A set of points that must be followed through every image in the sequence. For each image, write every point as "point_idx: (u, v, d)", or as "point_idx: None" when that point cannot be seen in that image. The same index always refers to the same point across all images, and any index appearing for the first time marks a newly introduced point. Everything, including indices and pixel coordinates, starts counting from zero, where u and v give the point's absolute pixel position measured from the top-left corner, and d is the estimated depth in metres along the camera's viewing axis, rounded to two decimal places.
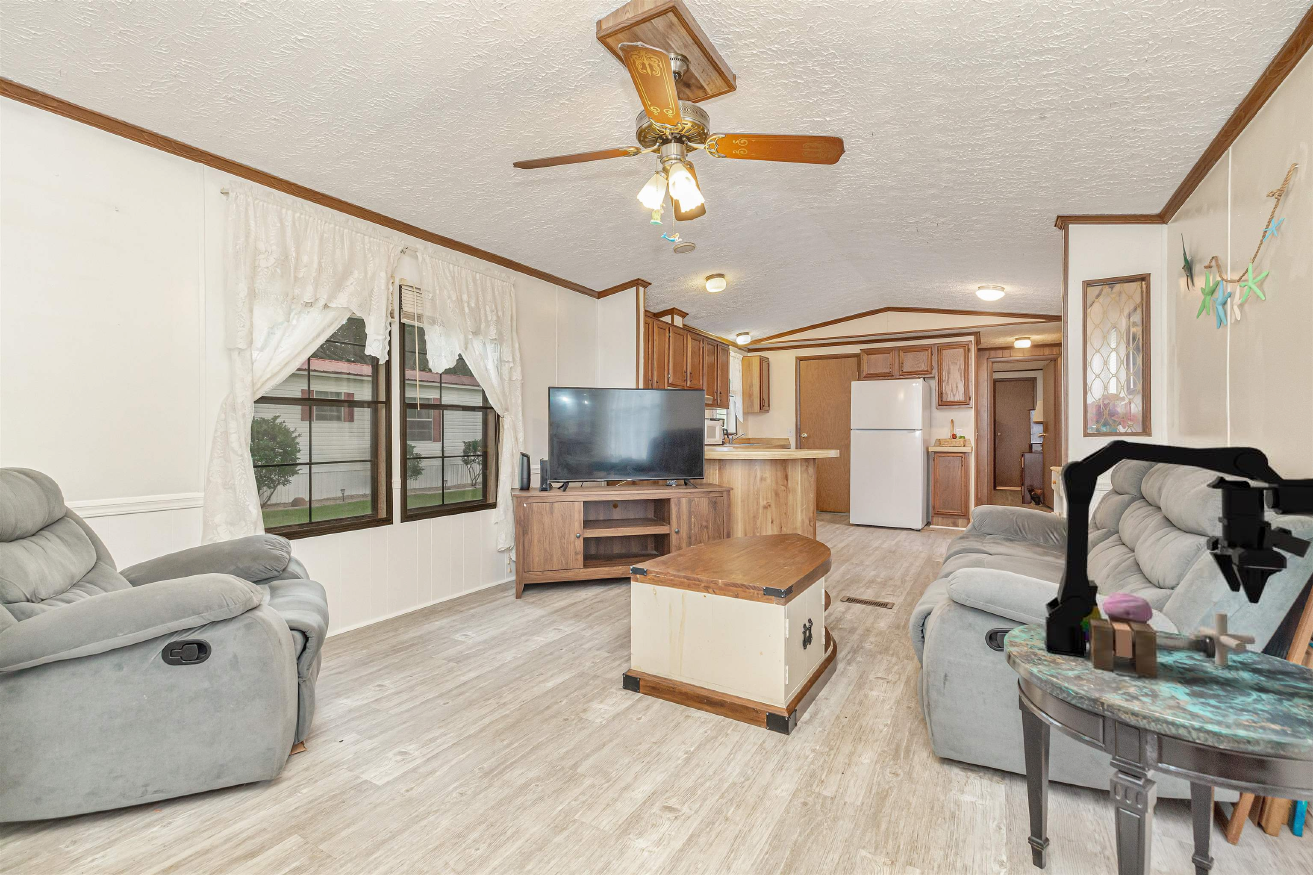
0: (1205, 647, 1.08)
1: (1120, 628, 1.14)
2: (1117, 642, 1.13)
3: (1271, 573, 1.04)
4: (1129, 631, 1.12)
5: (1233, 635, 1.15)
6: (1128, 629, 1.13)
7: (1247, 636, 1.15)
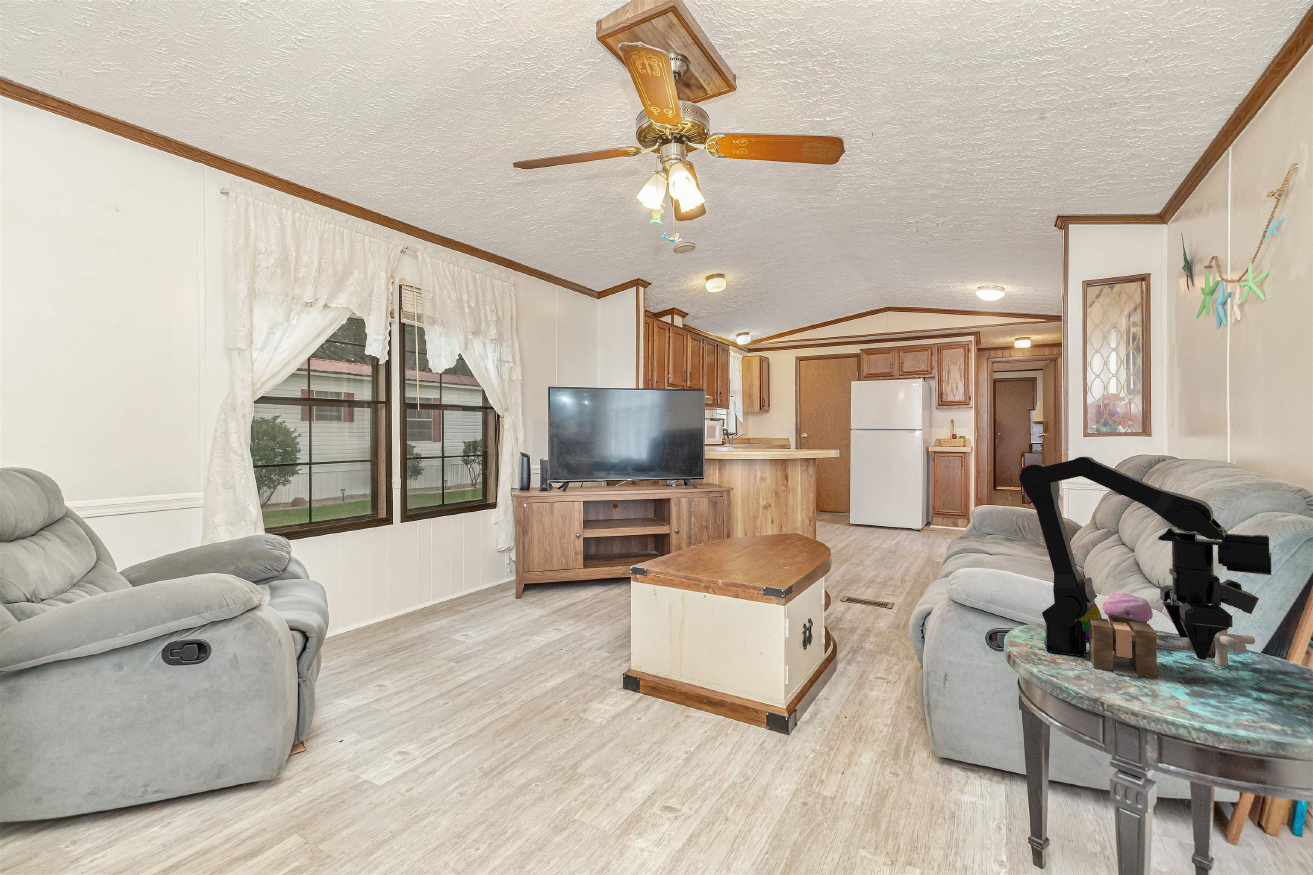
0: None
1: (1120, 628, 1.14)
2: (1117, 642, 1.13)
3: (1218, 630, 1.03)
4: (1129, 631, 1.12)
5: (1233, 635, 1.15)
6: (1128, 629, 1.13)
7: (1247, 636, 1.15)
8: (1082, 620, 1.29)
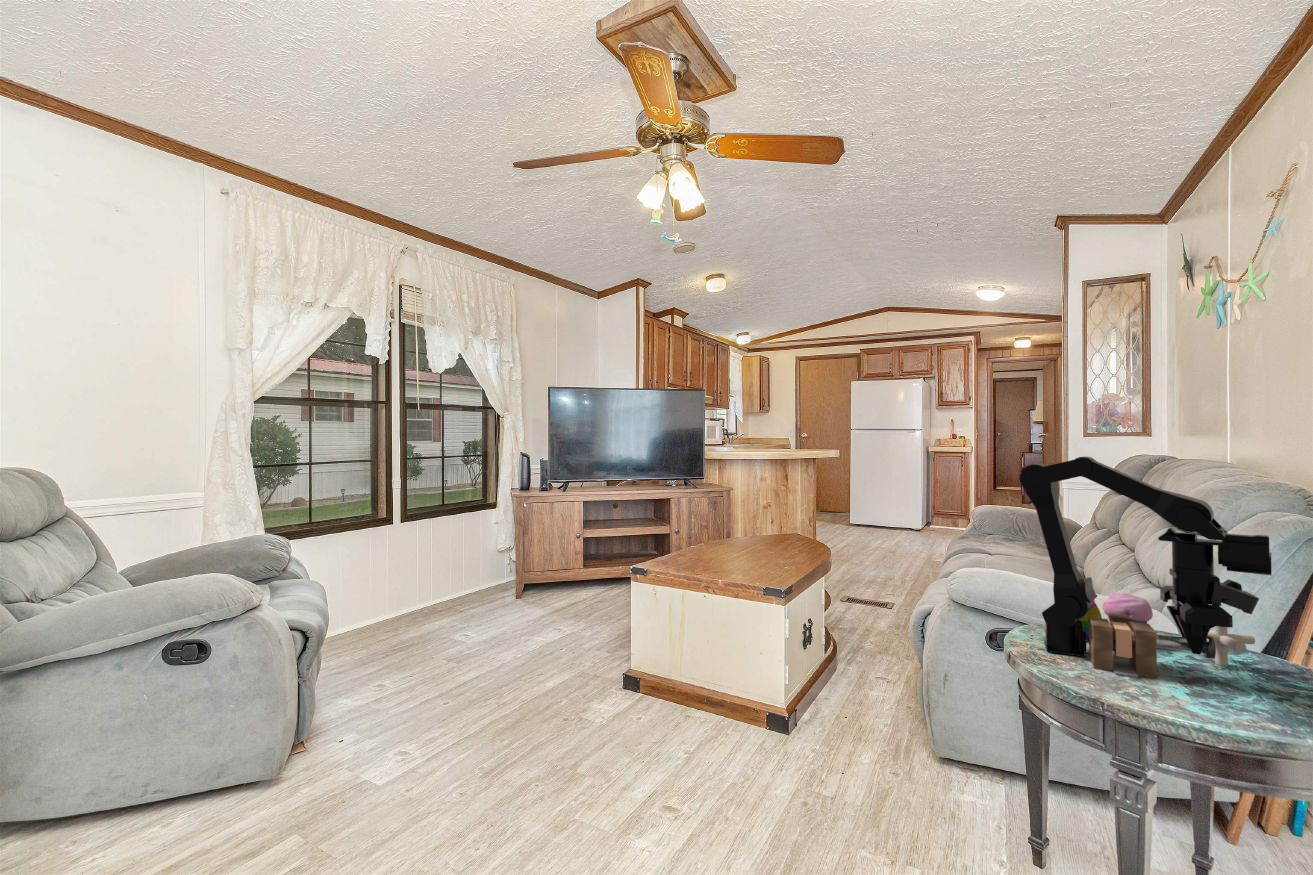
0: (1205, 647, 1.08)
1: (1120, 628, 1.14)
2: (1117, 642, 1.13)
3: (1212, 625, 1.06)
4: (1129, 631, 1.12)
5: (1233, 635, 1.15)
6: (1128, 629, 1.13)
7: (1247, 636, 1.15)
8: (1082, 620, 1.29)
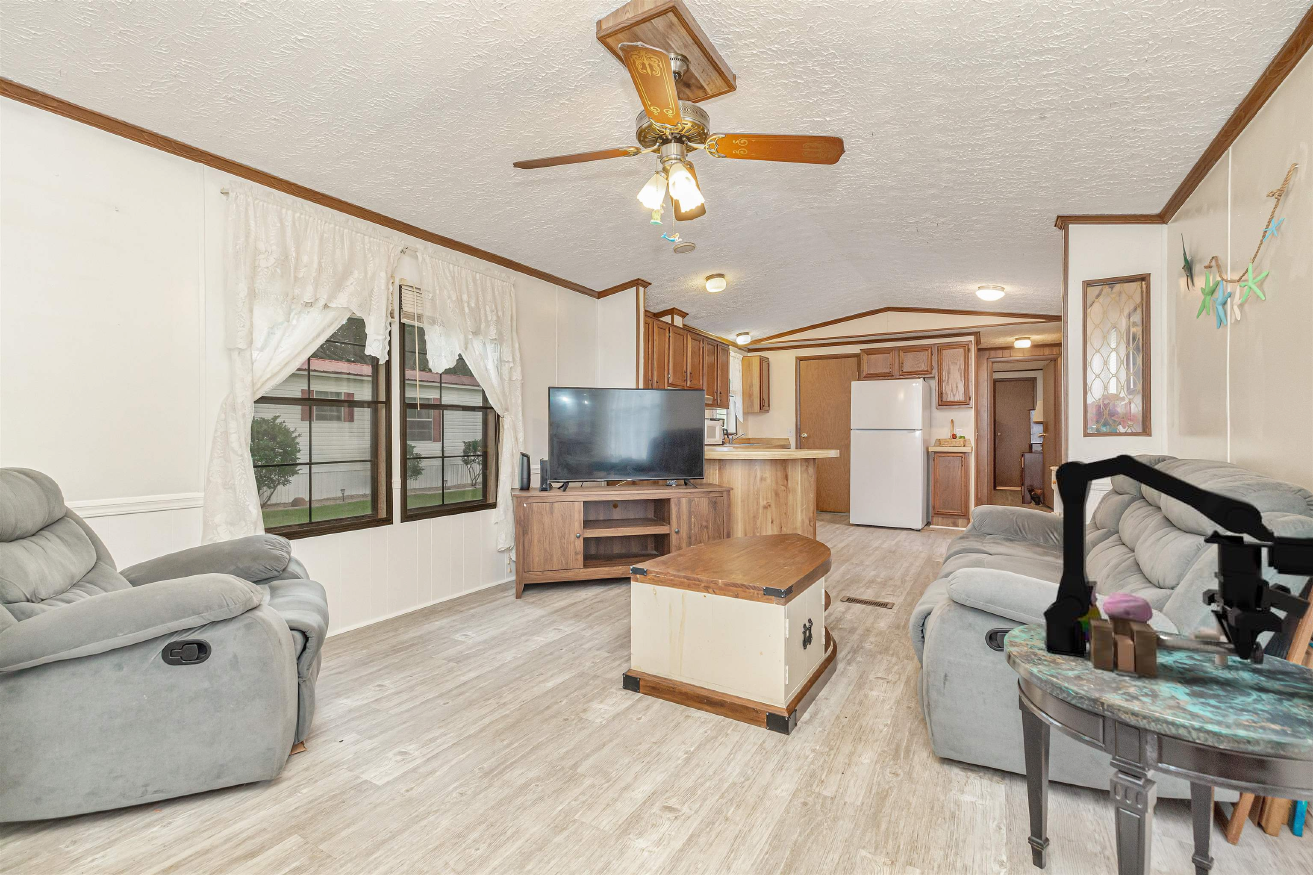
0: (1252, 653, 1.05)
1: (1122, 641, 1.13)
2: (1119, 655, 1.13)
3: (1261, 630, 1.03)
4: (1131, 644, 1.12)
5: None
6: (1130, 642, 1.13)
7: None
8: (1082, 620, 1.29)
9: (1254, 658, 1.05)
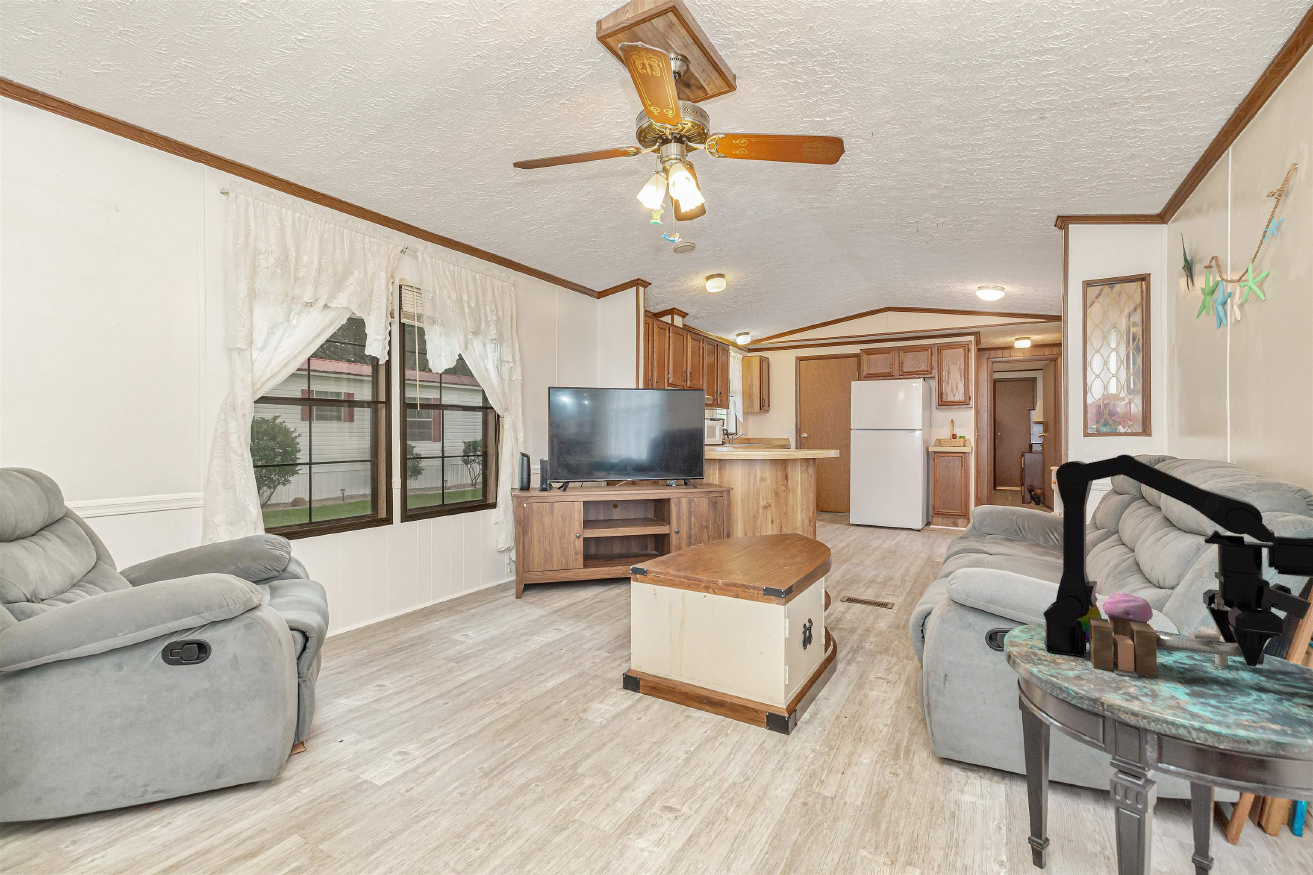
0: None
1: (1122, 641, 1.13)
2: (1119, 655, 1.13)
3: (1269, 636, 1.00)
4: (1131, 644, 1.12)
5: None
6: (1130, 642, 1.13)
7: None
8: (1082, 620, 1.29)
9: None
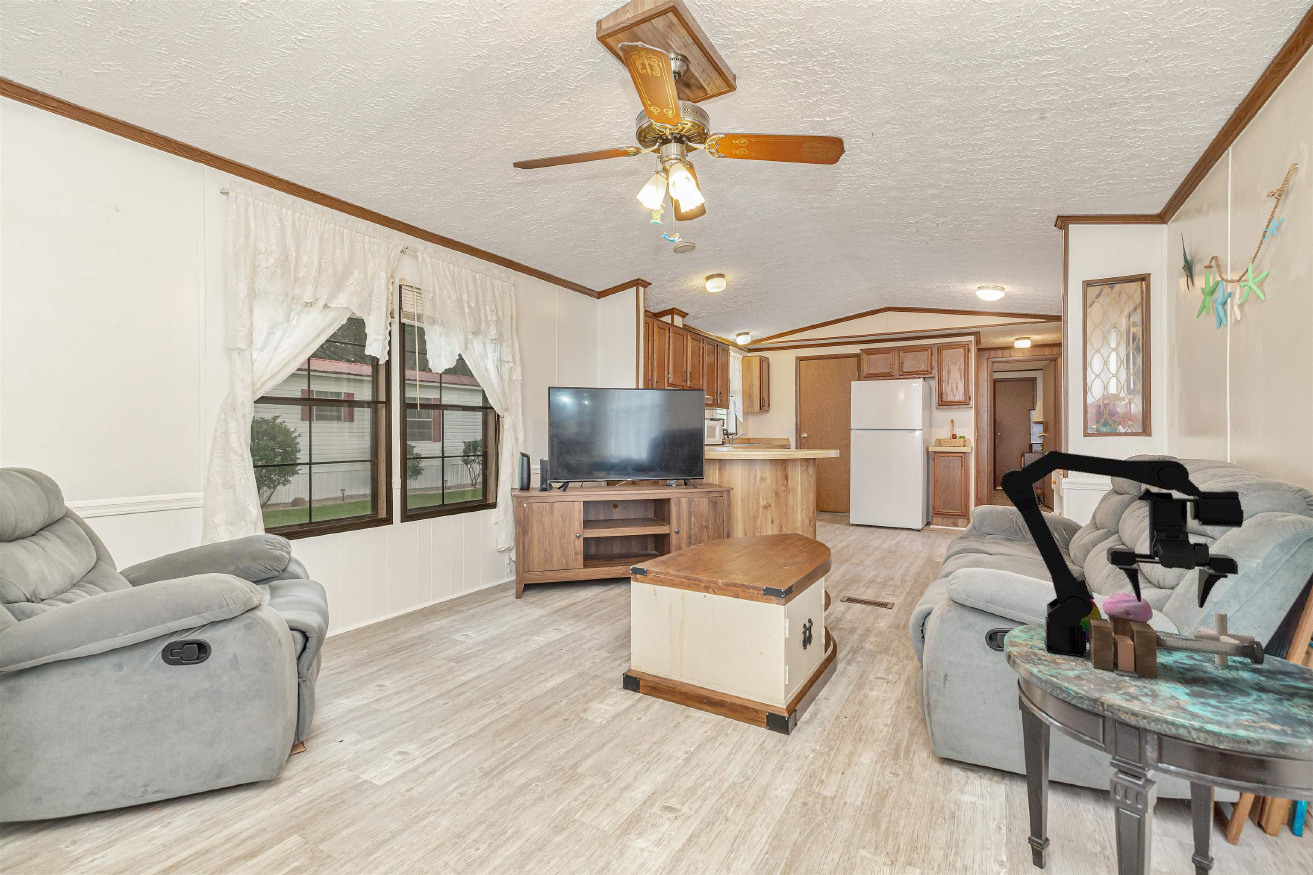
0: (1253, 653, 1.05)
1: (1122, 641, 1.13)
2: (1119, 655, 1.13)
3: (1126, 572, 1.17)
4: (1131, 644, 1.12)
5: (1233, 635, 1.15)
6: (1130, 642, 1.13)
7: (1247, 636, 1.15)
8: (1082, 620, 1.29)
9: (1254, 658, 1.05)
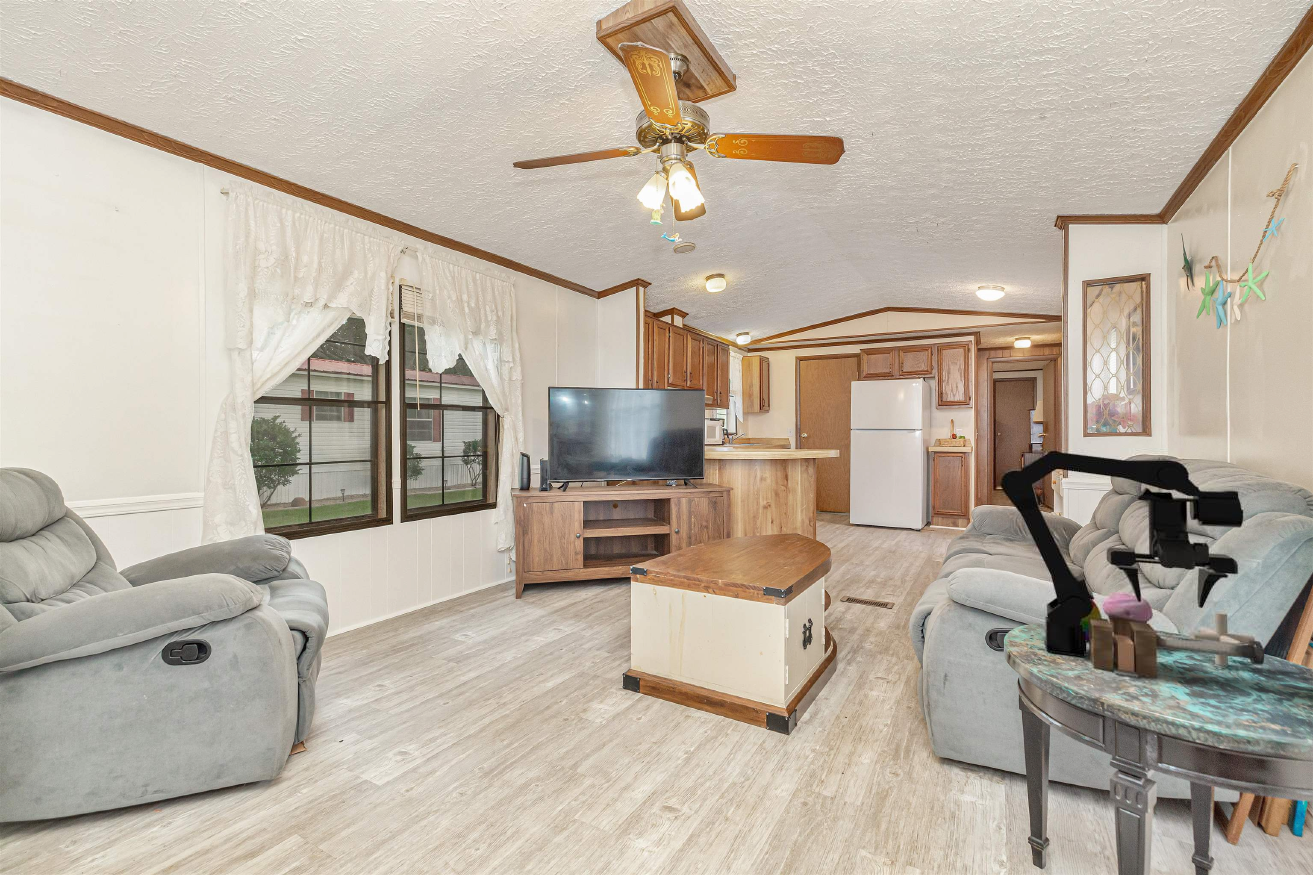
0: (1253, 653, 1.05)
1: (1122, 641, 1.13)
2: (1119, 655, 1.13)
3: (1126, 572, 1.17)
4: (1131, 644, 1.12)
5: (1233, 635, 1.15)
6: (1130, 642, 1.13)
7: (1247, 636, 1.15)
8: (1082, 620, 1.29)
9: (1254, 658, 1.05)
